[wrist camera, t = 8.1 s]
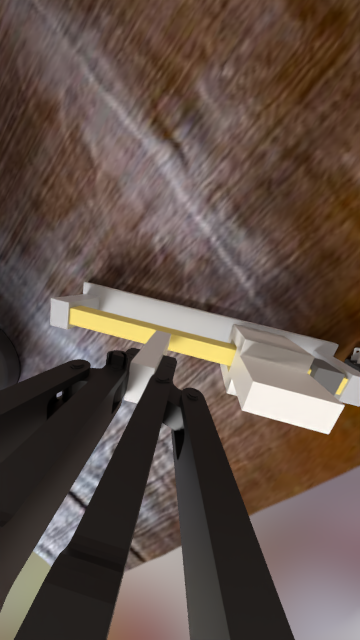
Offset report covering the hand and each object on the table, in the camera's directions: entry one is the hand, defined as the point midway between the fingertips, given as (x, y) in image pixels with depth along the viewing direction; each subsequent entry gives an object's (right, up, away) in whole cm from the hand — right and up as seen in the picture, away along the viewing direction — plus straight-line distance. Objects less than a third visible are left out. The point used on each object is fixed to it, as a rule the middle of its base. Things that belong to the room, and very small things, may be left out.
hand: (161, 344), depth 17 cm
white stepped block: (+10, -1, +4) cm, 11 cm away
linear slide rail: (+5, +1, +7) cm, 9 cm away
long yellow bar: (+5, 0, +3) cm, 6 cm away
